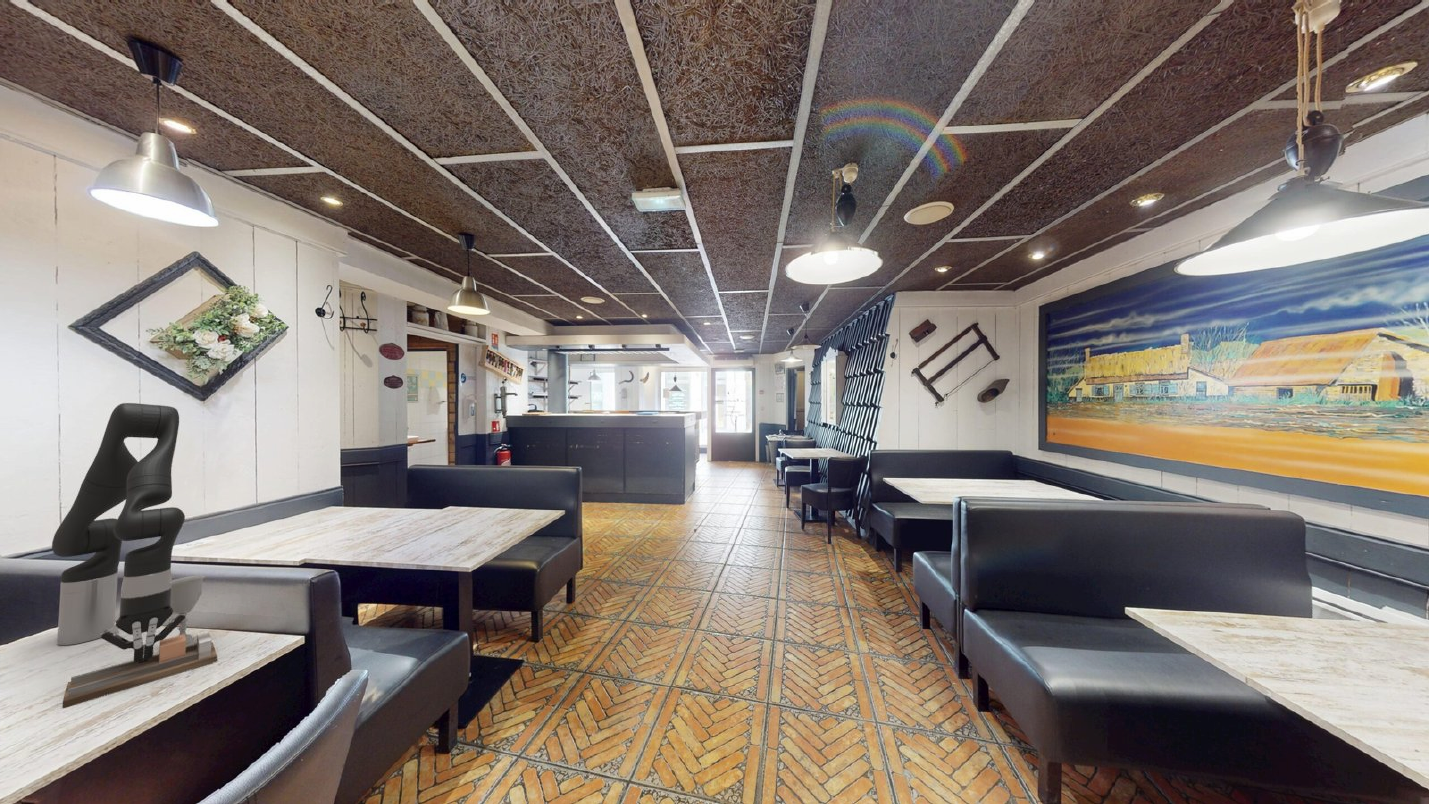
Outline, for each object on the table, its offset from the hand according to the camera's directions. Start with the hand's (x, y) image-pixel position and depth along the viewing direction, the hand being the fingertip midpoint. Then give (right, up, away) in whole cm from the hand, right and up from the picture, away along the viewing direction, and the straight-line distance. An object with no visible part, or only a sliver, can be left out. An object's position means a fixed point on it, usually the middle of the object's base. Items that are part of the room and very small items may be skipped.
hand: (142, 661), depth 104 cm
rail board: (0, -4, 0) cm, 4 cm away
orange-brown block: (+3, -2, +4) cm, 5 cm away
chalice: (-7, -4, +13) cm, 16 cm away
